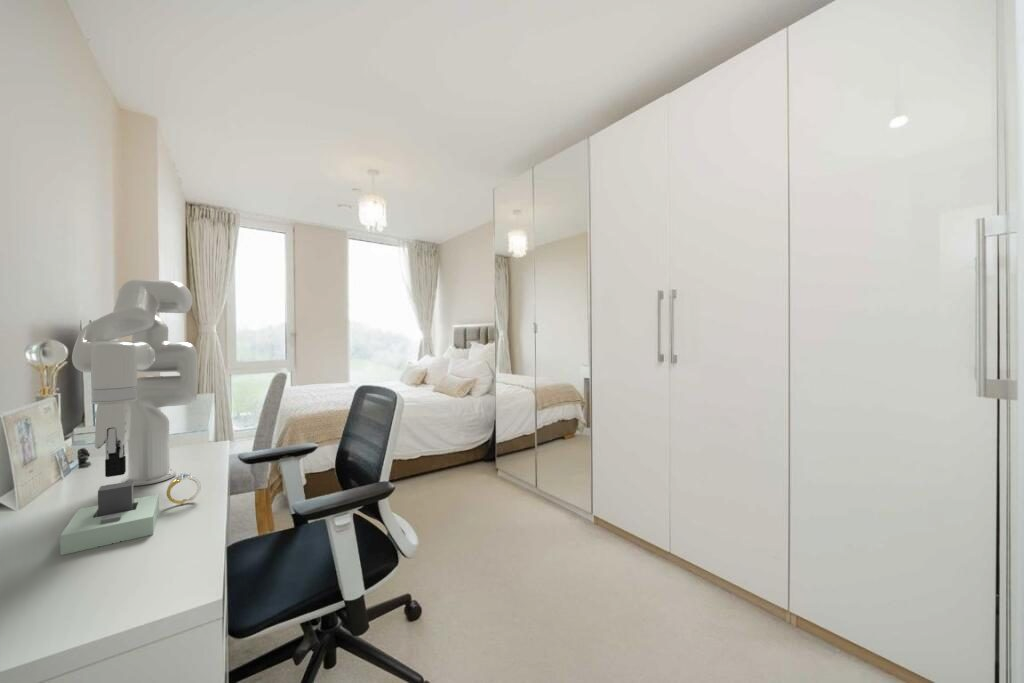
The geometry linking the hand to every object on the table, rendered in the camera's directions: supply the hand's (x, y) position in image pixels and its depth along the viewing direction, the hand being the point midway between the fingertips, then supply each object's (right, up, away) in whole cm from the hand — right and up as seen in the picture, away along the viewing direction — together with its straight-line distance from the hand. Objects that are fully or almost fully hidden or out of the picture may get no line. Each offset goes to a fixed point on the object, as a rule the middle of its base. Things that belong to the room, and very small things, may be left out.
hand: (115, 474), depth 93 cm
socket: (+1, -12, -1) cm, 12 cm away
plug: (0, -12, 0) cm, 12 cm away
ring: (+5, -12, +13) cm, 19 cm away
